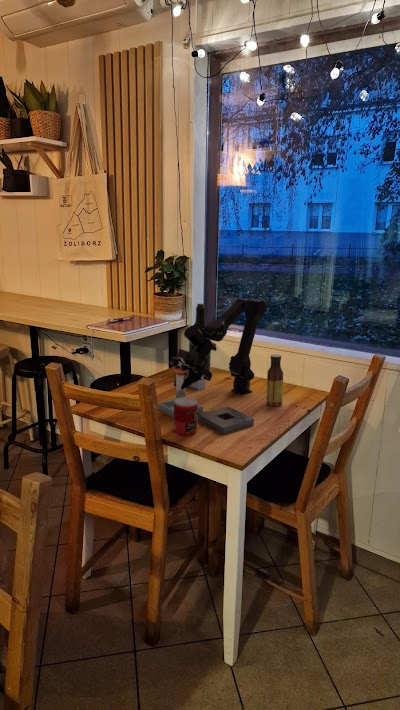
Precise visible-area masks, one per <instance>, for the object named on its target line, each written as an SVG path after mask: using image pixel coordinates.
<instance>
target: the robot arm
mask: <svg viewBox="0 0 400 710" xmlns="http://www.w3.org/2000/svg"><path fill="white" fill-rule="evenodd" d="M266 310H267V303H266V302H265V300H261V299H255V298H248V299H247V298H242V297H241V298H239V297H238V298H237V299H236V300H235V302H234V303H233V304H232V305H230V307H229V308H228V309H227V310H226V311H225V312H224V313H223V314H222V315H221V316H220V317H219V318H217V319H216V320H213V321H211V322H210V323H208V324H206V327H205V328H203V329H202V328H201V326H200V325H199V324H197V323H194V324H193V325H190V326H189V327H187V328H186V329H185V330H184V332H183V336H184V337H185V338H186V340H187V341H190V343H191V344H192V345H193V346H196V347H195V349H194V350H190V351H189V350H184V349H181V348H179V349H178V352H177V353H176V356H173V357H171V358H170V360H169V361H168V363H169V364H170V365H171V366H172V367H173V368H174V370H175V369H176V368H186V369H187V370H189V371H188V374H187V373H186V376H187V375H188V376H187V378H186V379H185V381H184V383H183V384H182V386H181V389H184V388H189V387H188V386H189V385H191V384H193V383H195V382H197V381H199V380H202V379H201V377H202V376H203V375H204V379H205V380H206V381H207V382H210V381H211V380H212V378H213V373H212V372H211V370H210V371H209V370H208V368H207V367H204V366H202V364H203V363H206V362H207V360H206V358H207V356H208V355H209V353H210V352H211V353H212V351H214V352H216V351H217V344H216V343H215V342H221V341H222V340H223V339H224V338H225V337H226V335H227V333H228V329H229V327H230V326H232V324H234V322H235V321H236V320H237V319H238V318H239V316H241V315H242V314H243V313H244V316H245V322H244V327H243V329H242V334H241V338H240V341H239V345H238V349H237V353H236V354H235V355H232V356H231V357H230V360H229V363H228V366H229V367H228V370H229V372H230V376H231V377H233V379H234V380H233V382H232V383H233V386H232V388H231V389H230V391H232V392H234V393H235V394H238V395H240V396H241V395H246V394H249V393H253V391H252V390H251V388H250V386H251V385H250V384H251V381H252V380H253V379H254V378H255V373H254V372H253V370H252V369H251V366H252V362H251V359H250V353H251V351H252V346H253V342H254V339H255V335H256V331H257V327H258V323H259V322H260V321H261V320H262V318H263V317H264V316H265V313H266ZM212 341H213V342H212ZM188 367H189V368H188ZM173 382H174V383H173V386H174V387H175V388H176V377H175V378H174V381H173Z"/></svg>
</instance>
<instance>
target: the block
mask: <svg viewBox="0 0 400 710" xmlns="http://www.w3.org/2000/svg"><path fill="white" fill-rule="evenodd" d="M197 422H199V423H201V424H203V425H205V426H206V427H207V428H209V429H211V430H214V431H216V432H217V433H219V434H221V435H226V434H229V433H233V432H236V431H240V430H242V429H247V428H250V427H254V425H255V418H253V417H252V416H249V415H248V414H245V413H243V412H241V411H240V410H236V409H235V408H232V407H230V406H229V405H228V406H225V407H221V408H217V409H213V410H210V411H209V410H208V411H205V412H203V413H200V414H197Z"/></svg>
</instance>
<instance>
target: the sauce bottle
mask: <svg viewBox="0 0 400 710" xmlns="http://www.w3.org/2000/svg"><path fill="white" fill-rule="evenodd" d="M281 360H282V355H281V354H278V353H277V354H276V353H275V354H271V355H270V367H269V369H268V370H267V374H266V375H267V379H266V404H267V405H269V406H271V407H279V406H282V405H283V401H284V400H283V398H284V395H283V394H284V372H283V369H282V367H281V366H282V365H281Z"/></svg>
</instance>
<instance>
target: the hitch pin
mask: <svg viewBox="0 0 400 710" xmlns="http://www.w3.org/2000/svg"><path fill="white" fill-rule="evenodd" d="M186 373H187V369H186V368H176V369H175V368H174V374H175V378H176V387H175V399H177V398H180V397H187V392H186V391H187V390H186V388H187V387H186V388H184V389H181V386H182V384H183V383H184V381H185V379H186Z"/></svg>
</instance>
